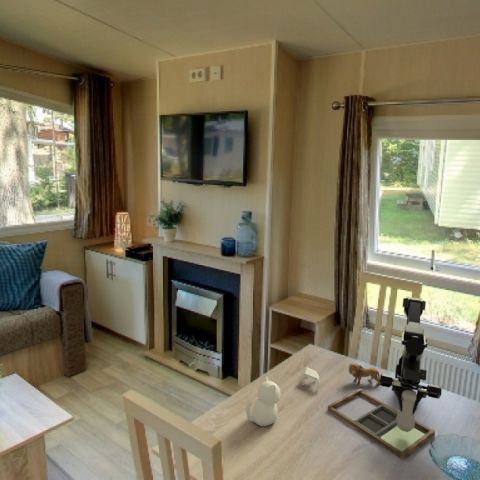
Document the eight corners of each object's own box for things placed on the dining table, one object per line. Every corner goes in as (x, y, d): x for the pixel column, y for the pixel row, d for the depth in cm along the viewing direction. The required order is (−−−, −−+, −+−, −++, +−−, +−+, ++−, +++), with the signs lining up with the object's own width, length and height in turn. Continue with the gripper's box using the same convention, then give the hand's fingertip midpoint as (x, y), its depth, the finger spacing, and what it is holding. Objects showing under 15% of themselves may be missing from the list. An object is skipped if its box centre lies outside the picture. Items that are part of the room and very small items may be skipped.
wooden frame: (359, 393, 156) (359, 388, 156) (434, 435, 133) (435, 430, 133) (327, 410, 145) (327, 405, 145) (403, 460, 122) (404, 454, 121)
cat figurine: (284, 425, 136) (287, 385, 134) (251, 433, 131) (253, 392, 129) (271, 410, 145) (274, 372, 142) (240, 417, 139) (242, 378, 137)
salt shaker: (417, 430, 130) (423, 395, 127) (405, 435, 128) (411, 400, 125) (402, 420, 135) (408, 385, 132) (391, 424, 133) (396, 390, 130)
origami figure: (293, 381, 164) (294, 370, 163) (308, 375, 168) (309, 364, 167) (314, 395, 154) (314, 384, 153) (329, 389, 159) (330, 378, 158)
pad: (402, 422, 139) (403, 421, 139) (426, 436, 133) (426, 435, 133) (379, 438, 131) (379, 437, 131) (403, 453, 125) (403, 452, 124)
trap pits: (381, 407, 148) (382, 404, 147) (403, 420, 141) (403, 416, 140) (353, 424, 138) (353, 420, 137) (375, 439, 131) (375, 435, 130)
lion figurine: (350, 387, 160) (351, 367, 159) (344, 380, 166) (346, 360, 164) (384, 385, 162) (386, 365, 160) (378, 378, 167) (380, 359, 166)
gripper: (383, 351, 133) (377, 399, 126) (444, 364, 127) (443, 415, 119) (382, 362, 142) (376, 407, 135) (439, 374, 135) (437, 422, 128)
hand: (407, 412), depth 129 cm, fingers closed on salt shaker, 3 cm apart
